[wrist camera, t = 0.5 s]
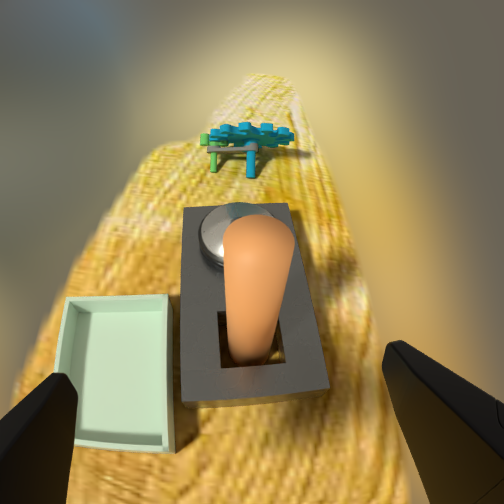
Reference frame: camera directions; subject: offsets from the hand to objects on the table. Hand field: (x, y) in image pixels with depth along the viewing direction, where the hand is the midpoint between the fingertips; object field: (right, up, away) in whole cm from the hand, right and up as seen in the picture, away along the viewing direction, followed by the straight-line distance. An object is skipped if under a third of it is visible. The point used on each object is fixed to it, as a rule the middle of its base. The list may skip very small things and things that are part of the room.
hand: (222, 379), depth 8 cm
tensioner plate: (0, -1, +20) cm, 20 cm away
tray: (-10, -6, +15) cm, 19 cm away
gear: (0, +14, +32) cm, 35 cm away
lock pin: (+1, -4, +17) cm, 17 cm away
